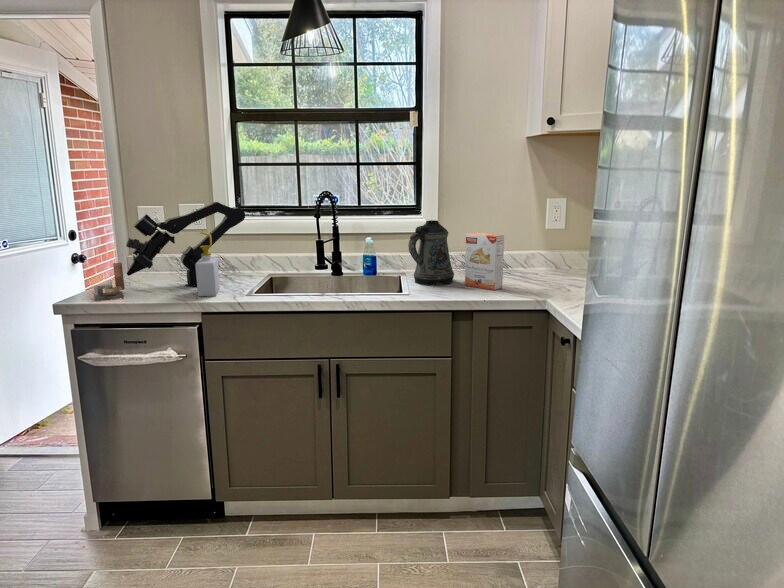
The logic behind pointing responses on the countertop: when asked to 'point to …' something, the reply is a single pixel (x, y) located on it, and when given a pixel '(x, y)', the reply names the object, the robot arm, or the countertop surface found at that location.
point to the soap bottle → (207, 272)
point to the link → (116, 280)
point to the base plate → (109, 296)
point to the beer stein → (431, 255)
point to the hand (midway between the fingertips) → (127, 274)
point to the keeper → (99, 288)
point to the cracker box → (484, 260)
